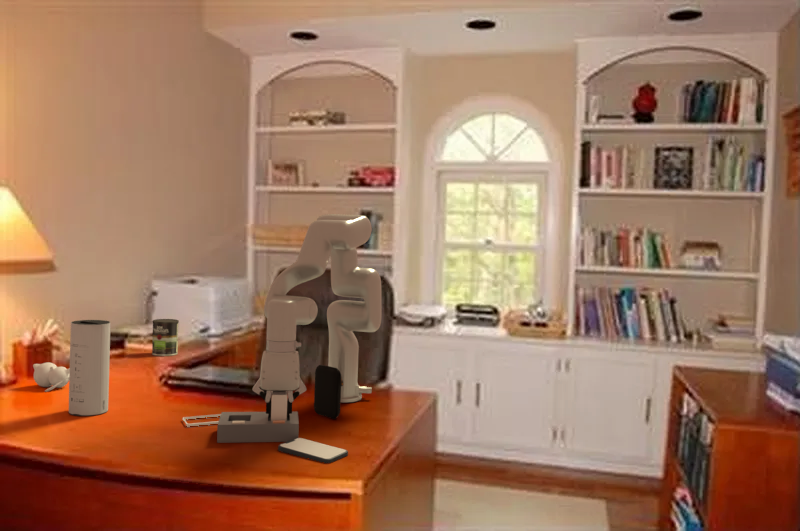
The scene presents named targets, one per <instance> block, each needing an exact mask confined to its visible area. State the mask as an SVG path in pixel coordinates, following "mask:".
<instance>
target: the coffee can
mask: <svg viewBox="0 0 800 531" xmlns="http://www.w3.org/2000/svg"><path fill="white" fill-rule="evenodd" d="M179 320H180V319H179ZM179 320H178V319H173V318H157V319H153V320H152V340H151V341H152V342H151V343H152V345H151V346H152V347H151V348H152V350H151V355H152V356H156V357H170V356H171V357H172V356H176V355H177V356H178V348H179V346H178V344H179V323H180V322H179Z"/></svg>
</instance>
